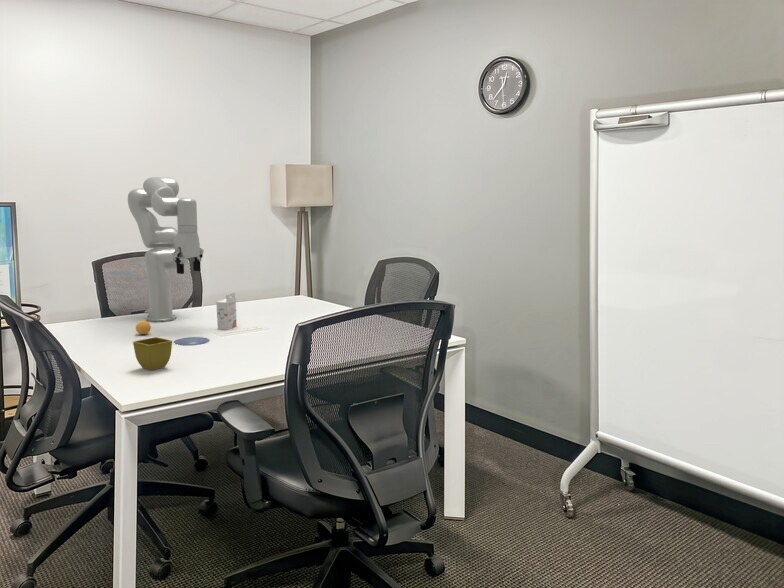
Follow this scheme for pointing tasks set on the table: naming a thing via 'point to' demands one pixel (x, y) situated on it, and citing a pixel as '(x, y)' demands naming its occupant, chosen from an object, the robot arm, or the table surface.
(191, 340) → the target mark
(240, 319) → the table surface
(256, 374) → the table surface
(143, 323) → the ball
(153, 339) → the flower pot
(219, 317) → the ink cartridge box
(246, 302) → the table surface
